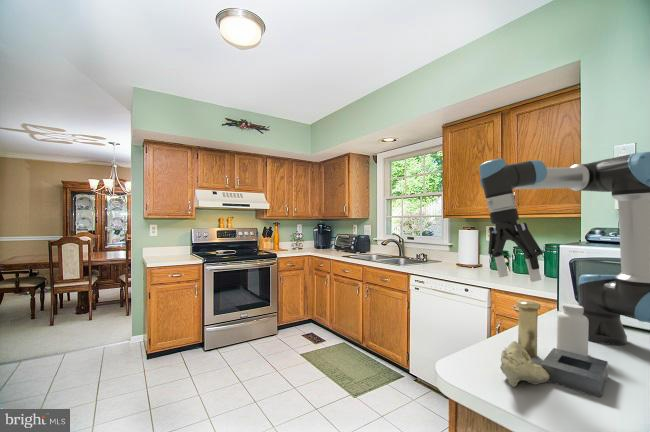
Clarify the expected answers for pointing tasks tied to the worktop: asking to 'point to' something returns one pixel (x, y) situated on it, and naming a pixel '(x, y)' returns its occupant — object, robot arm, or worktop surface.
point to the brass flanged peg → (528, 326)
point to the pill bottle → (572, 330)
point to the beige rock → (521, 366)
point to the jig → (576, 371)
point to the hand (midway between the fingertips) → (518, 278)
